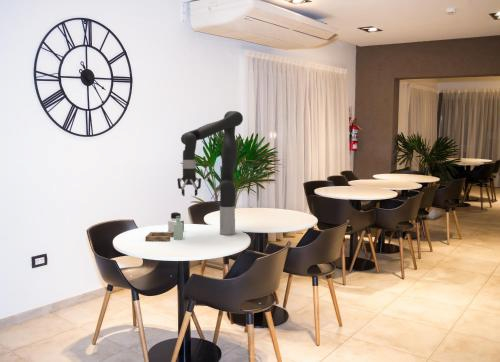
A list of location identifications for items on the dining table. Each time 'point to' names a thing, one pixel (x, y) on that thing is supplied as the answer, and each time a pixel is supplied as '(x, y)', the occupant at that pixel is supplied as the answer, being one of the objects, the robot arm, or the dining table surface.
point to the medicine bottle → (172, 222)
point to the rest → (159, 236)
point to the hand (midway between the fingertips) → (189, 195)
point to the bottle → (178, 229)
